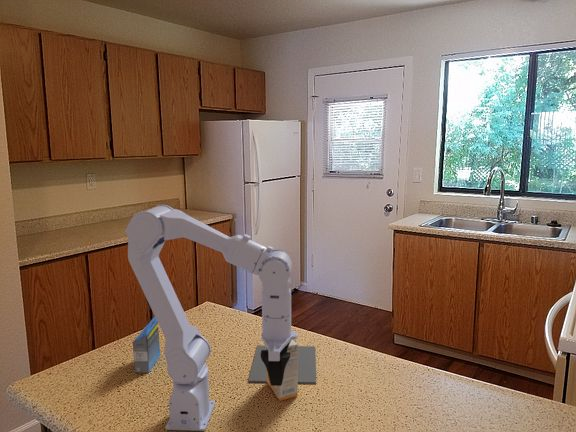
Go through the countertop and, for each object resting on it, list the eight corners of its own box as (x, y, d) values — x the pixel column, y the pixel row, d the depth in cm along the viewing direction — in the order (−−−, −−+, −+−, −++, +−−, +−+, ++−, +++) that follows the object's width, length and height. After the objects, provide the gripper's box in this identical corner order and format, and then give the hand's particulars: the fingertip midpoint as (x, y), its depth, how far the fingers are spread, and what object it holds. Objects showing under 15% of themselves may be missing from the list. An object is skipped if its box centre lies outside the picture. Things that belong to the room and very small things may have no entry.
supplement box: (264, 381, 101) (264, 330, 98) (283, 376, 103) (283, 326, 100) (278, 402, 94) (278, 348, 91) (298, 396, 96) (299, 343, 93)
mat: (316, 383, 101) (316, 382, 101) (248, 382, 102) (248, 380, 102) (315, 347, 119) (315, 346, 119) (257, 346, 120) (257, 345, 120)
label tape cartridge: (146, 355, 115) (143, 311, 113) (161, 355, 115) (158, 312, 113) (134, 373, 106) (130, 326, 104) (149, 373, 106) (146, 326, 104)
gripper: (295, 328, 77) (296, 398, 79) (298, 299, 91) (298, 359, 94) (256, 328, 77) (258, 397, 80) (264, 299, 92) (265, 358, 94)
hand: (277, 376), depth 87 cm, fingers open, 5 cm apart
